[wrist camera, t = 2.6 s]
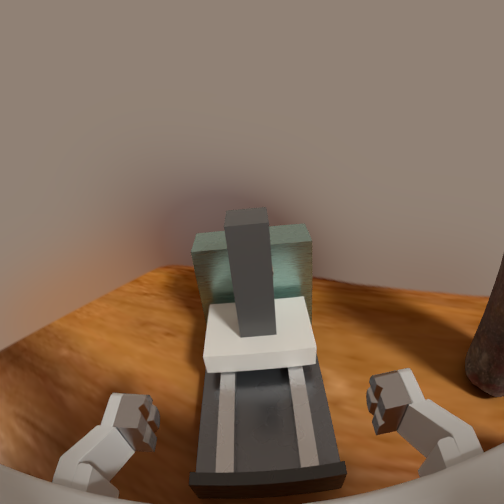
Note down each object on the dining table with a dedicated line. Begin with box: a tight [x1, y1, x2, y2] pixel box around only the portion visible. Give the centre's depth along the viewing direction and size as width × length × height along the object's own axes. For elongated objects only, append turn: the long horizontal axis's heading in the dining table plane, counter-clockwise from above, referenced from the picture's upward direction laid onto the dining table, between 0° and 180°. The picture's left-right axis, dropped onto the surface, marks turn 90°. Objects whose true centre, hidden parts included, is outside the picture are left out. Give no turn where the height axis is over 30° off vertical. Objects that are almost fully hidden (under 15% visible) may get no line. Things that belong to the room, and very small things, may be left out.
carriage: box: [203, 207, 316, 373], centre depth 26 cm, size 9×7×12 cm
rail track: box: [189, 224, 347, 499], centre depth 25 cm, size 11×22×10 cm, turn 1°
